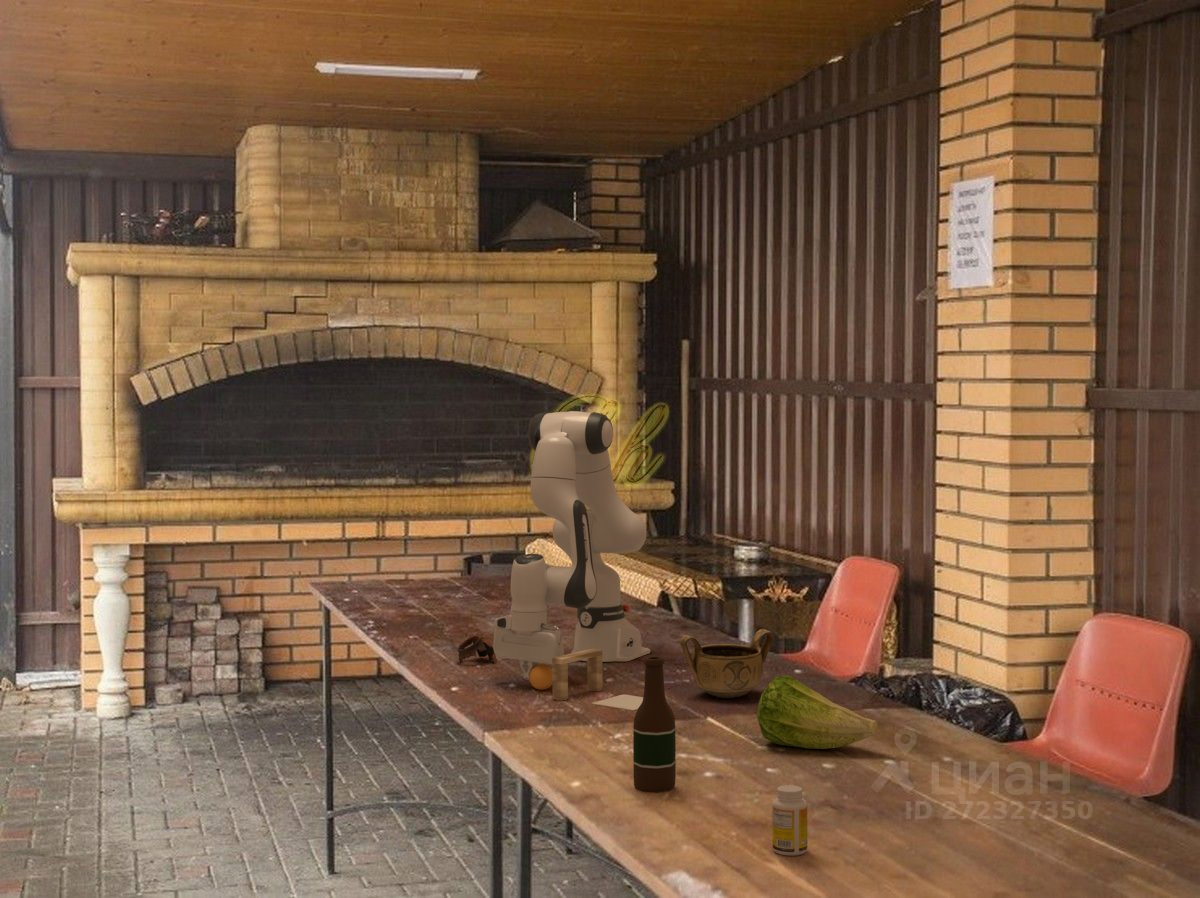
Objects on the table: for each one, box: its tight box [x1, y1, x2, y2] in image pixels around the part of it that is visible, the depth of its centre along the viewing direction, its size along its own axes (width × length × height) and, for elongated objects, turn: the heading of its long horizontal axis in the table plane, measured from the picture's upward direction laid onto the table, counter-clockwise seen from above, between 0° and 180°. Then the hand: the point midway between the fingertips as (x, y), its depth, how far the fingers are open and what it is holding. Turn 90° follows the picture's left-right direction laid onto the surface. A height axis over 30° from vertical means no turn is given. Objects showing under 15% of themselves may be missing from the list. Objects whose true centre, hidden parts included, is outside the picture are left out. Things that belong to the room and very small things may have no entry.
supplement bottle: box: [771, 784, 809, 857], centre depth 251 cm, size 6×6×10 cm
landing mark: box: [591, 694, 643, 712], centre depth 363 cm, size 12×12×1 cm
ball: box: [529, 664, 552, 691], centre depth 379 cm, size 6×6×6 cm
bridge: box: [551, 649, 604, 702], centre depth 372 cm, size 3×15×10 cm, turn 142°
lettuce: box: [756, 674, 878, 750], centre depth 319 cm, size 14×24×15 cm
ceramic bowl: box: [679, 628, 774, 699], centre depth 370 cm, size 22×17×15 cm
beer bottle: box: [632, 656, 677, 793], centre depth 290 cm, size 8×8×24 cm
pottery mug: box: [456, 634, 498, 665], centre depth 415 cm, size 12×10×8 cm
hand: (528, 679), depth 381 cm, fingers closed
